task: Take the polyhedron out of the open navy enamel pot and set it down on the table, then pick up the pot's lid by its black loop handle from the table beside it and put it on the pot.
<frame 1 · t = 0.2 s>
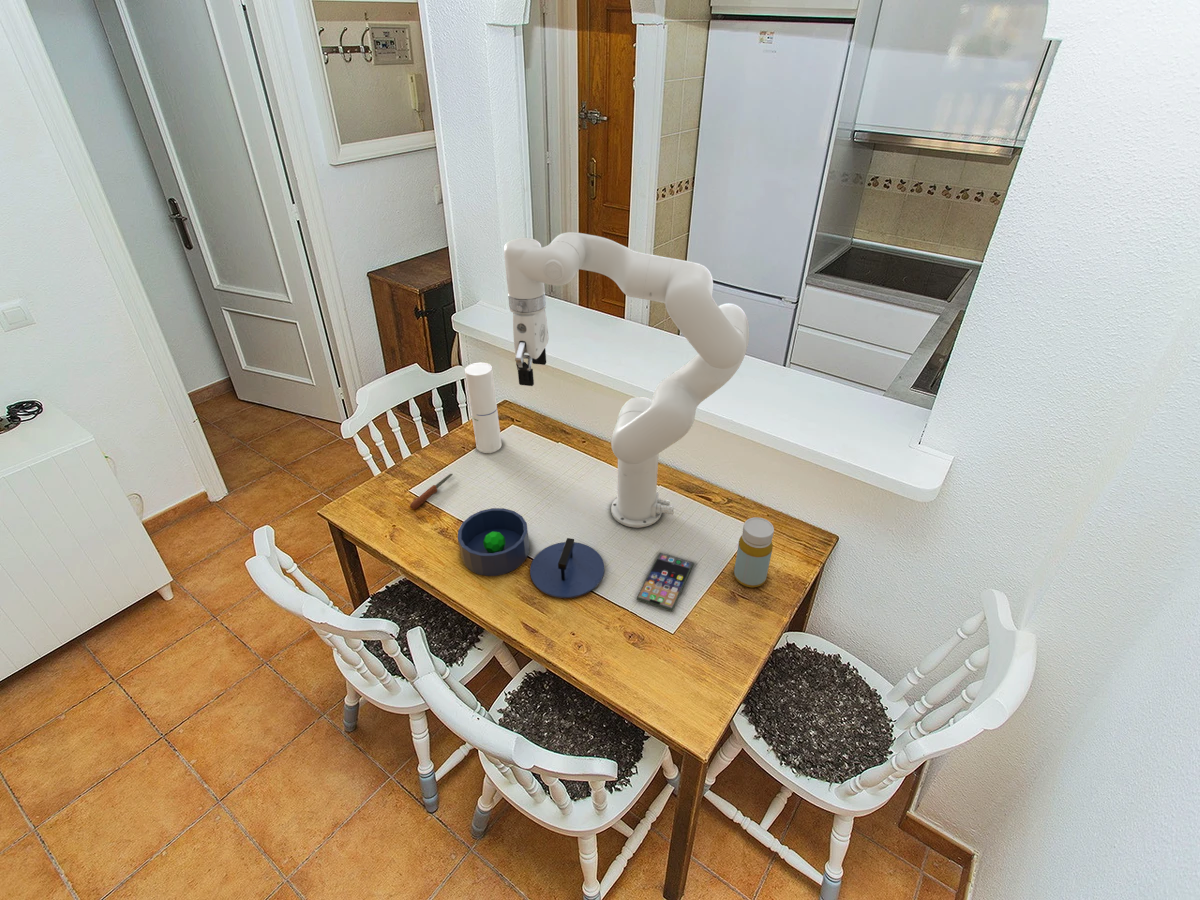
hand: (533, 374, 140), 37 cm above the table, tool pointing down, fingers open, 9 cm apart
lid: (567, 569, 141), point 1 cm above the table
kitchen knife: (433, 493, 165), on the table
pot: (495, 551, 147), on the table
bottle: (749, 577, 140), on the table
cylindrical container: (489, 446, 182), on the table
smartphone: (665, 582, 139), on the table
polyhedron: (495, 550, 147), resting in pot
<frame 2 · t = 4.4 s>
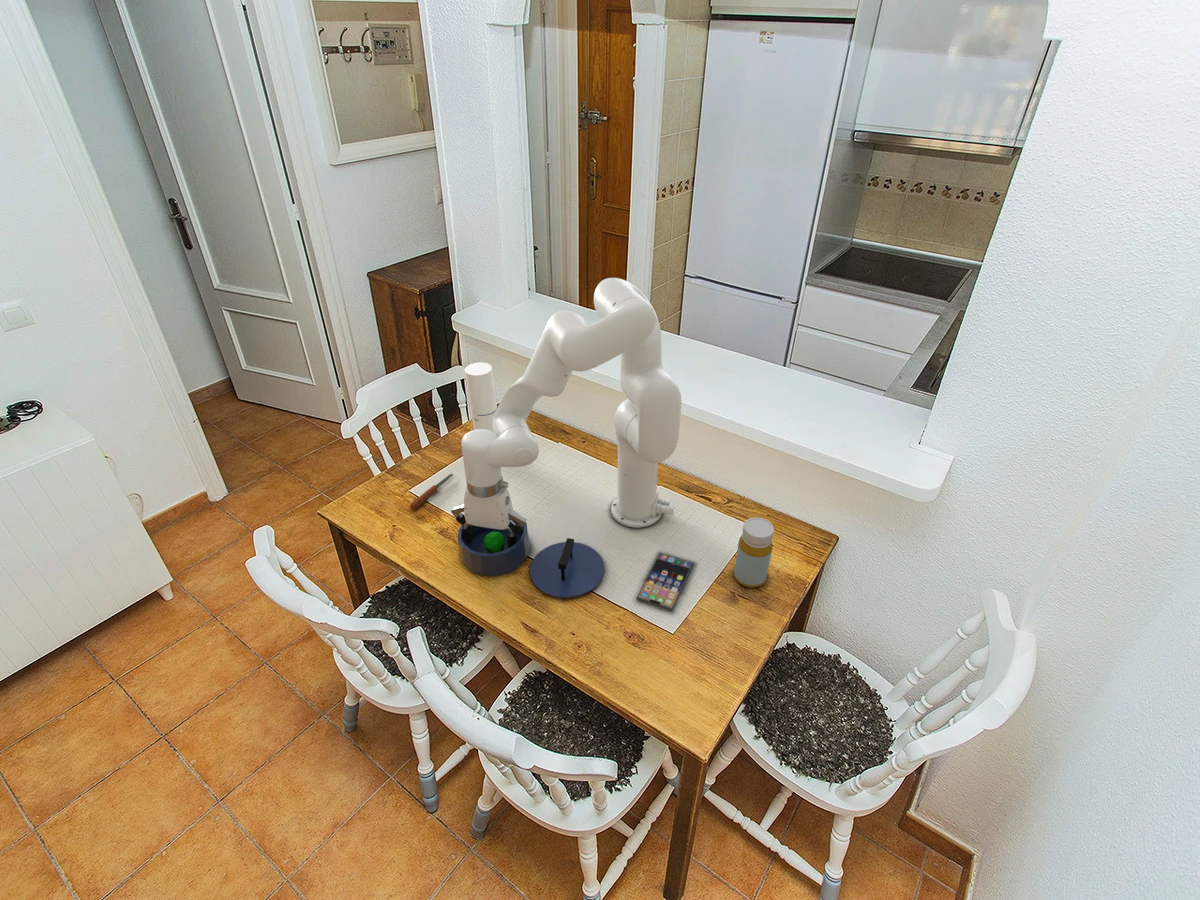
hand: (491, 541, 145), 3 cm above the table, tool pointing down, fingers open, 9 cm apart
nothing on the table moved.
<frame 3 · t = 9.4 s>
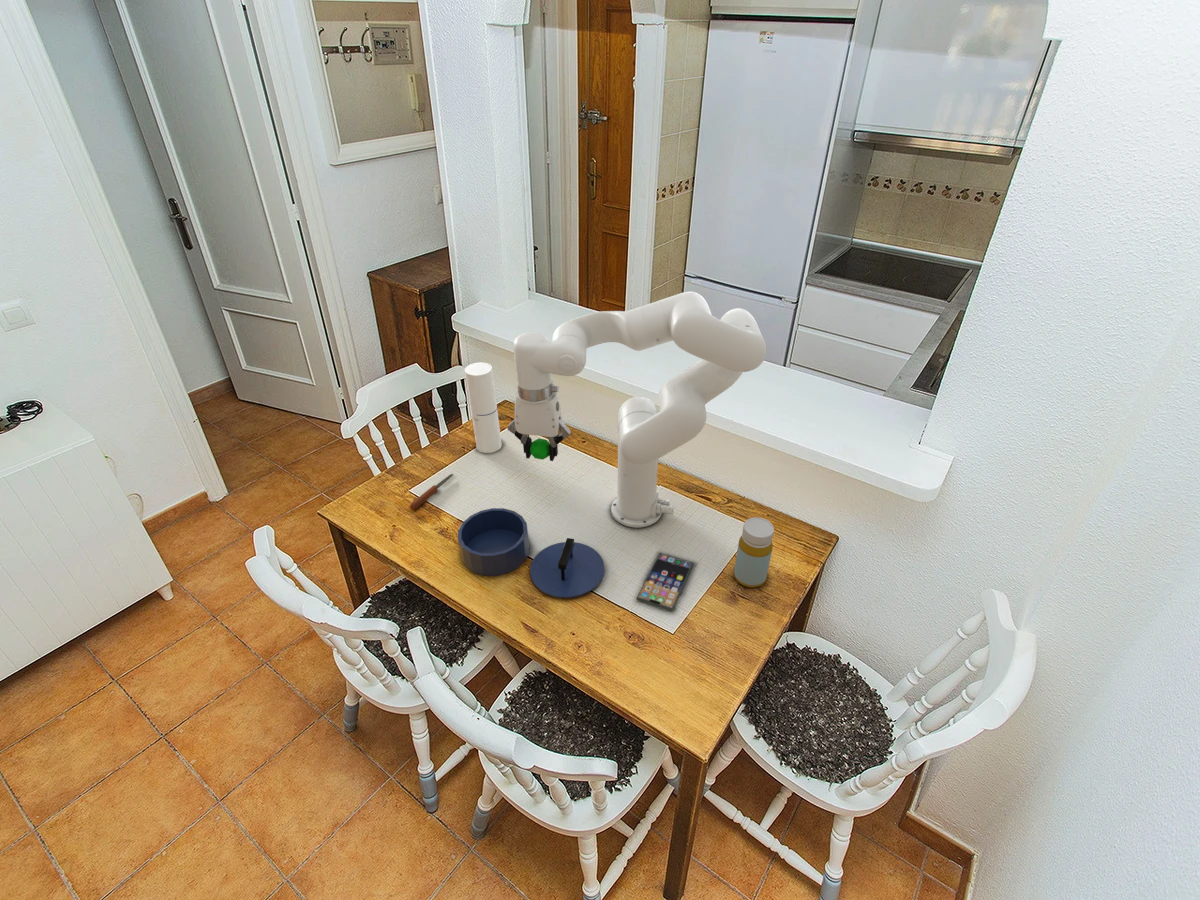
hand: (541, 455, 148), 18 cm above the table, tool pointing down, fingers closed on polyhedron, 5 cm apart
polyhedron: (541, 457, 148), point 17 cm above the table, touching gripper
everything else where it was.
when the fingers open (0 cm above the table, at t = 13.5 s): polyhedron stays where it is, on the table.
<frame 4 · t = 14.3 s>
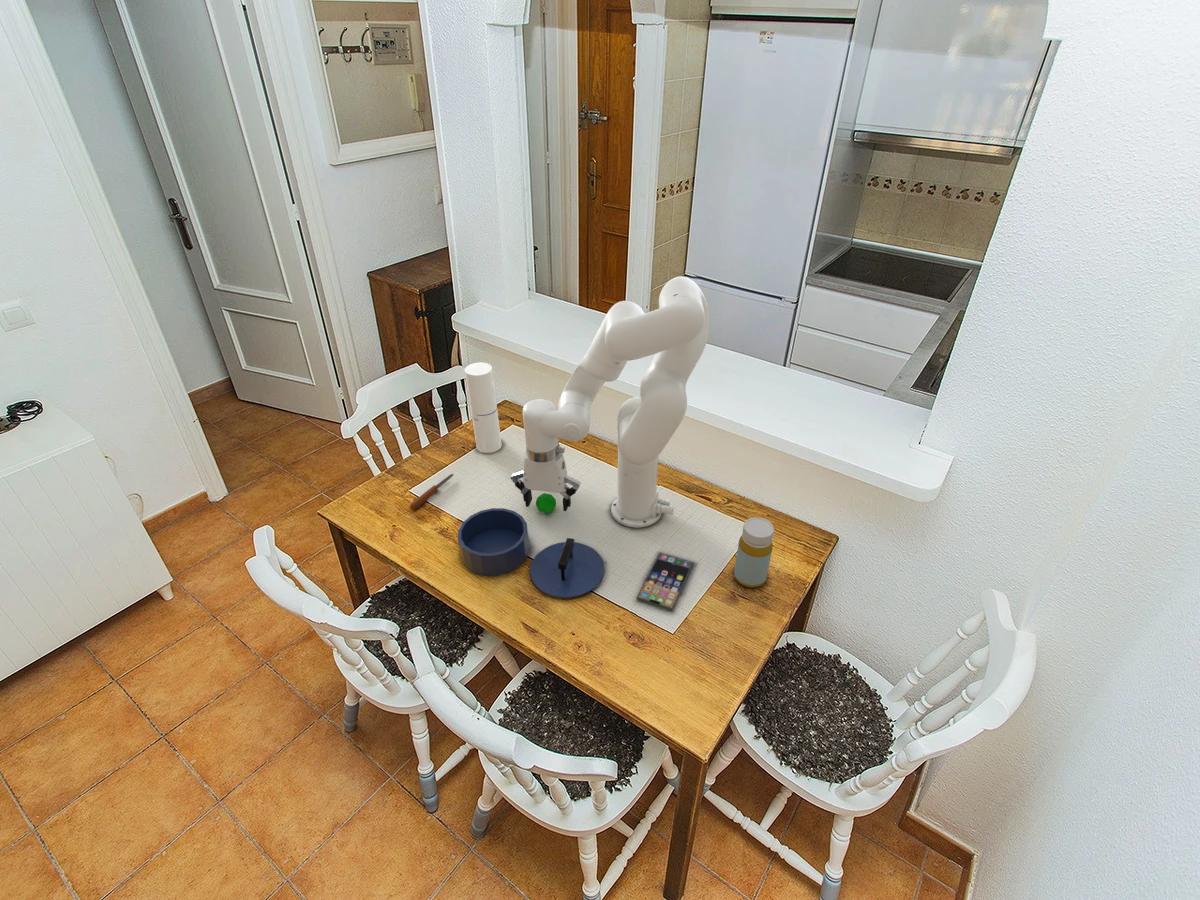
hand: (547, 505, 158), 2 cm above the table, tool pointing down, fingers open, 9 cm apart
polyhedron: (546, 511, 159), on the table
everything else where it was.
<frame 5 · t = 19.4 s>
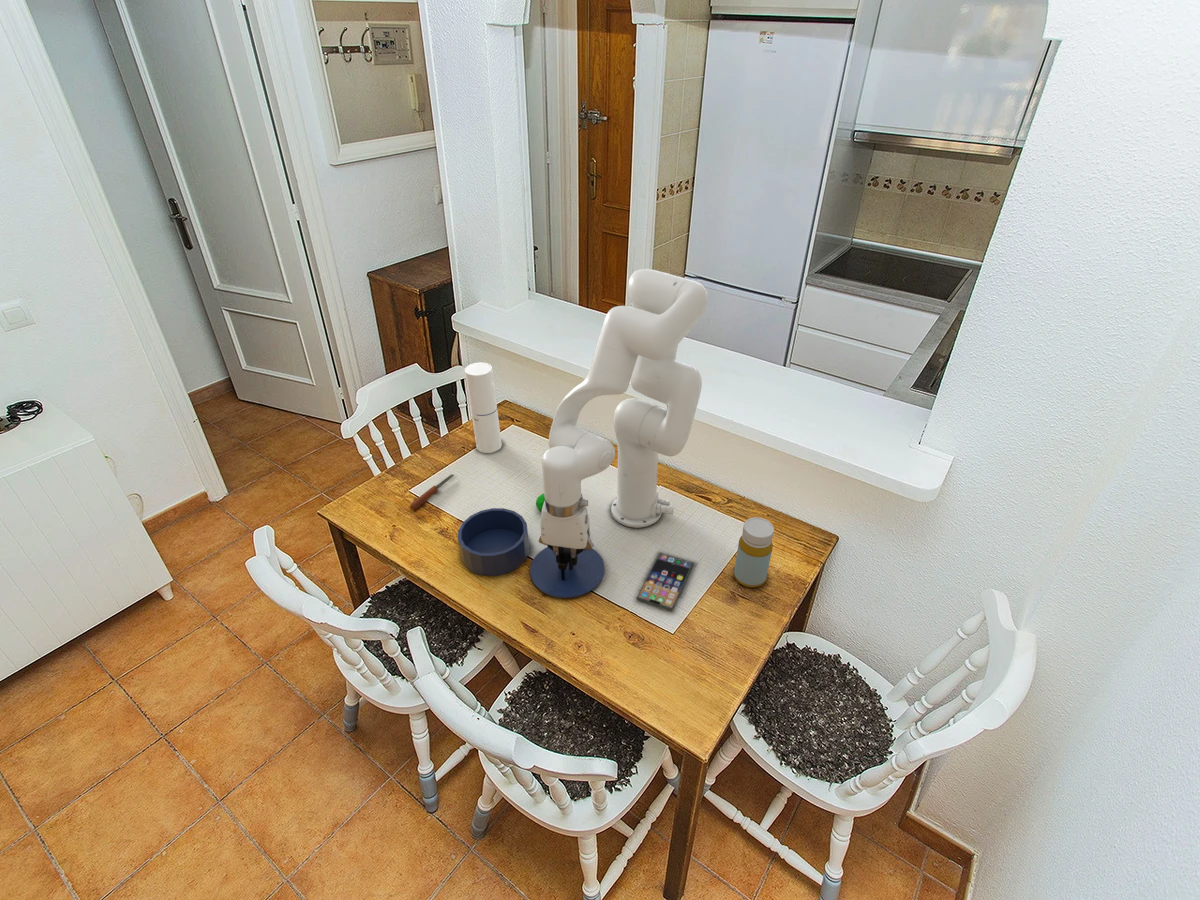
hand: (567, 564, 141), 2 cm above the table, tool pointing down, fingers closed on lid
lid: (567, 569, 141), point 1 cm above the table, touching gripper
everything else where it was.
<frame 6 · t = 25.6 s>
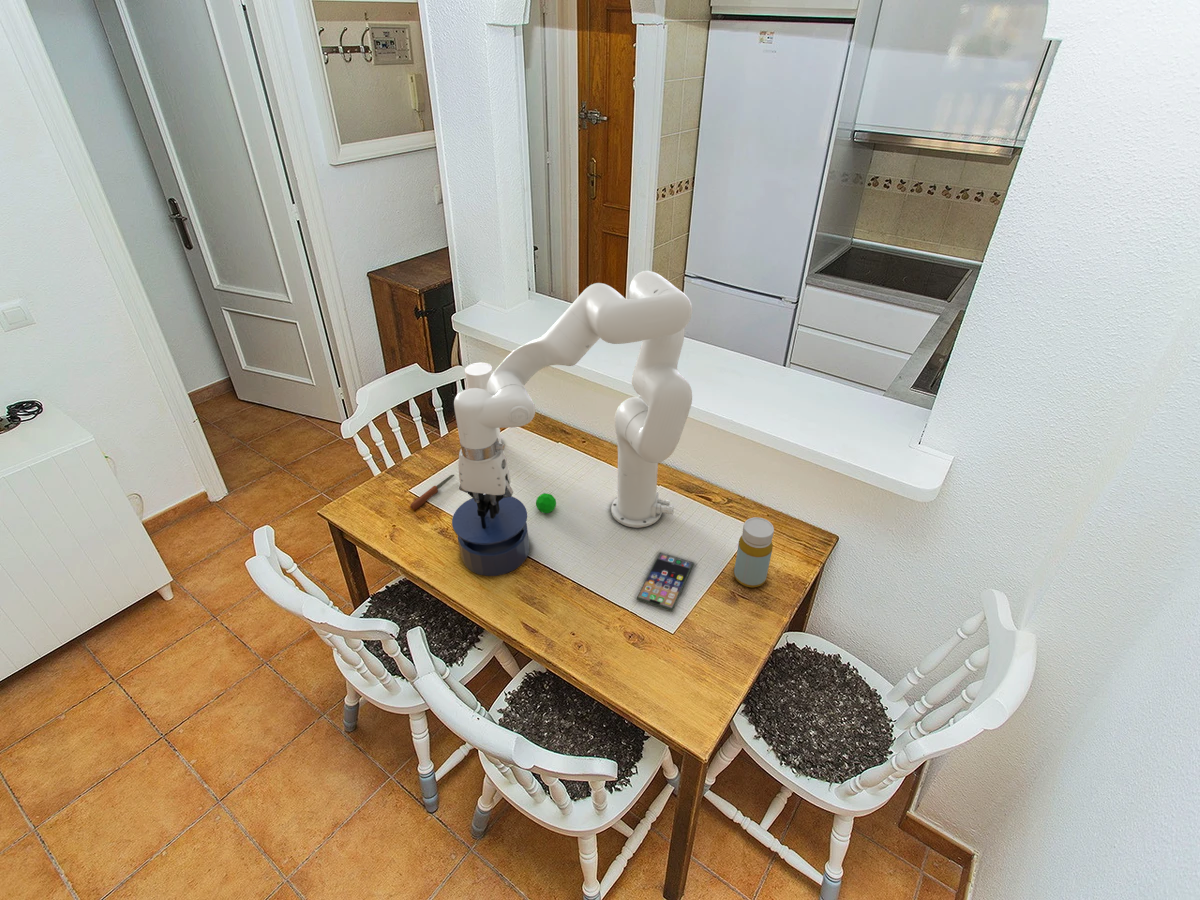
hand: (489, 513, 140), 12 cm above the table, tool pointing down, fingers closed on lid
lid: (490, 518, 141), point 10 cm above the table, touching gripper
everything else where it was.
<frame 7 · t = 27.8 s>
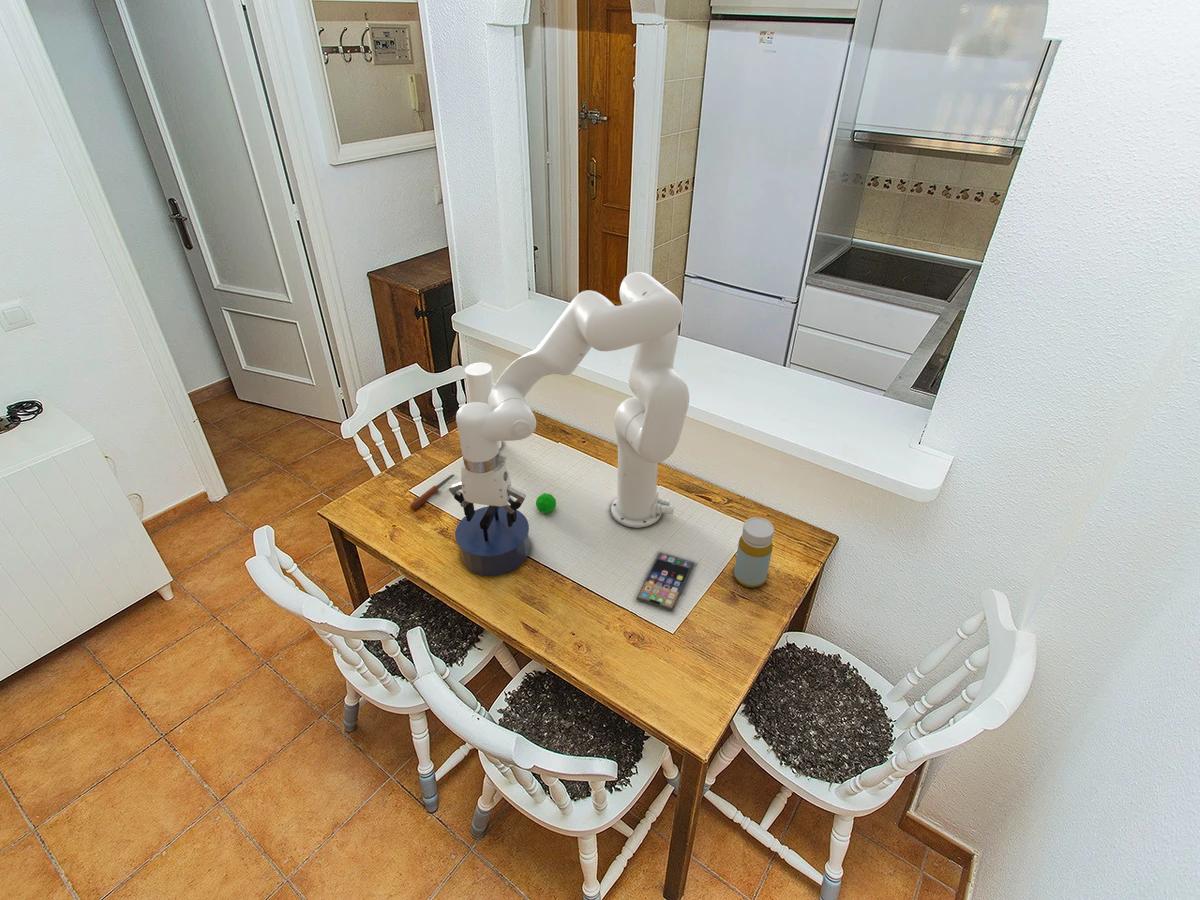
hand: (491, 520, 142), 10 cm above the table, tool pointing down, fingers open, 9 cm apart
lid: (492, 531, 143), point 6 cm above the table, touching pot
everything else where it was.
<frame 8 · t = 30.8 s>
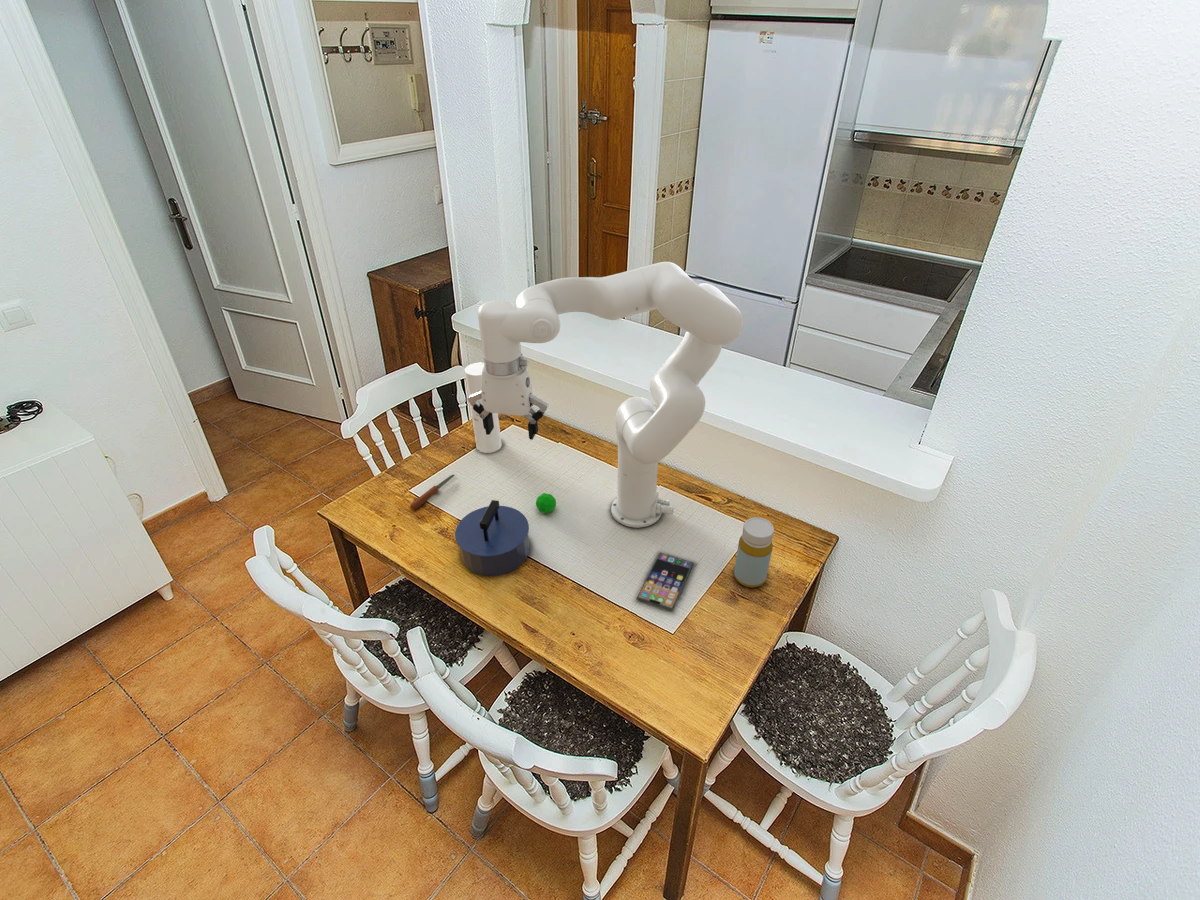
hand: (511, 433, 136), 28 cm above the table, tool pointing down, fingers open, 9 cm apart
nothing on the table moved.
at the end: polyhedron inside the target area (0.2 cm from its centre), on the table; lid 0.1 cm off-centre on the pot, point 6.4 cm above the pot's base; lid tilted 0° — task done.
